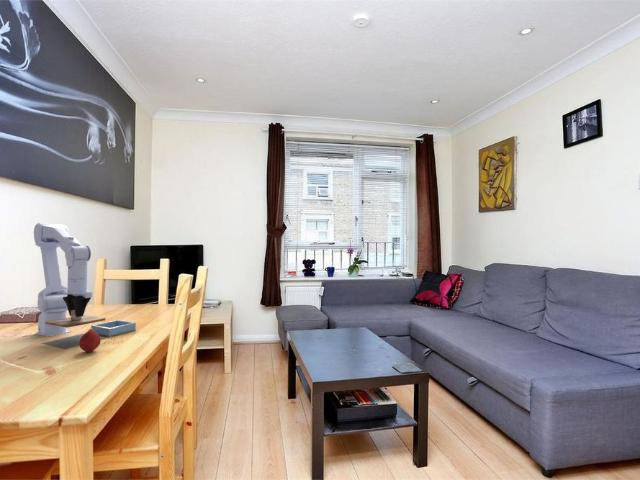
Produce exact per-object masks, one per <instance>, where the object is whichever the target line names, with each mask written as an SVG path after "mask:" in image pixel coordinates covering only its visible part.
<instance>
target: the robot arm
mask: <svg viewBox="0 0 640 480" xmlns="http://www.w3.org/2000/svg"><path fill="white" fill-rule="evenodd" d="M33 238H34V244H35V246H37V247H38V248H39V249H40V253H41V258H42V259H41V261H42V267H43V273H44V274H43V275H44V282H45V283H44V284H45V288H43V289H42V290H41V291H39V292H38V294H37V308H38V310H39V311H40V312H41V313H40V314H38V315H39V316H38V321H37V332H35V333H34V334H35V335H39V336H40V335H41V336H45V337H54V336H59V335H62V334H67V333H72V330H69V329H67V328H66V327H60V326H54V325H48V324H45V322H47V321H53V320H58V319H64V318H67V311H68V315H69V316H70V317H71V310H75V315H76V317H81V316H83V315H85V311H86V308H87V305H88V304H89V302H90V300H91V299H92V297H93V291H89V290H88V289H87V286H88V285H87V284H88V278H87V277H88V262H90V260H91V256H92V252H91V248H90V247H89V245H82V244H81V243H80V241H78V240H77V238H75V237H74V236H73V235H72V236H71V235H69V228H68V226H67V225H66V224H64V223H63V224H58V223H43V222H42V223H41V222H37V223H36V224H35V225H34V229H33ZM58 248H60V249H61V250H62V252H64V257H65V262H66V264H65V265H66V267H67V287H66V286H64V285H63V284H62V279H61V271H60V265H59V259H58V253H57V252H58V251H57V249H58Z"/></svg>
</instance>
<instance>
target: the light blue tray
mask: <svg viewBox="0 0 640 480" xmlns="http://www.w3.org/2000/svg"><path fill="white" fill-rule="evenodd" d="M136 327H137V322H133V321H127V320H123V319H122V320H121V319H116V320H112V321H106V322H102V323H101V322H100V323H96V324H92V325H91V326H90V329H91V328H92V329H93V331H94V332H96V333H97V334H98V335H99V336H101V337H102V336H103V337H107V338H111V337H115V336H119V335H123V334H128V333H131V332H136V329H137V328H136Z"/></svg>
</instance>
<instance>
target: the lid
mask: <svg viewBox="0 0 640 480" xmlns="http://www.w3.org/2000/svg"><path fill="white" fill-rule="evenodd" d="M103 321H106V318H105V317H98V316H94V315H93V316H91V315H86V314H84V315H83V316H81V317H76V315H75V310H71V316H70V317H66V318H64V319H58V320H53V321H47V322H45V324H48V325H54V326H60V327H66V329H68V328H73V327H77V326H83V325H89V324H93V323H98V322H103Z"/></svg>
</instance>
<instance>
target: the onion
mask: <svg viewBox="0 0 640 480" xmlns="http://www.w3.org/2000/svg"><path fill="white" fill-rule="evenodd" d="M83 334H84V335H83V336H82V337H81V339H80V341H79V348H80V349H81V350H82V351H84V352H85V353H93V352H94V351H95V350H96V349H97V348H99V347H100V345H101V342H102V340H101V339H100V337H101V335H98V334H97V333H96V332H94V331H93V329H92V328H91V327H90V328H89V329H88V331H87V332H85V333H83Z"/></svg>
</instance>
